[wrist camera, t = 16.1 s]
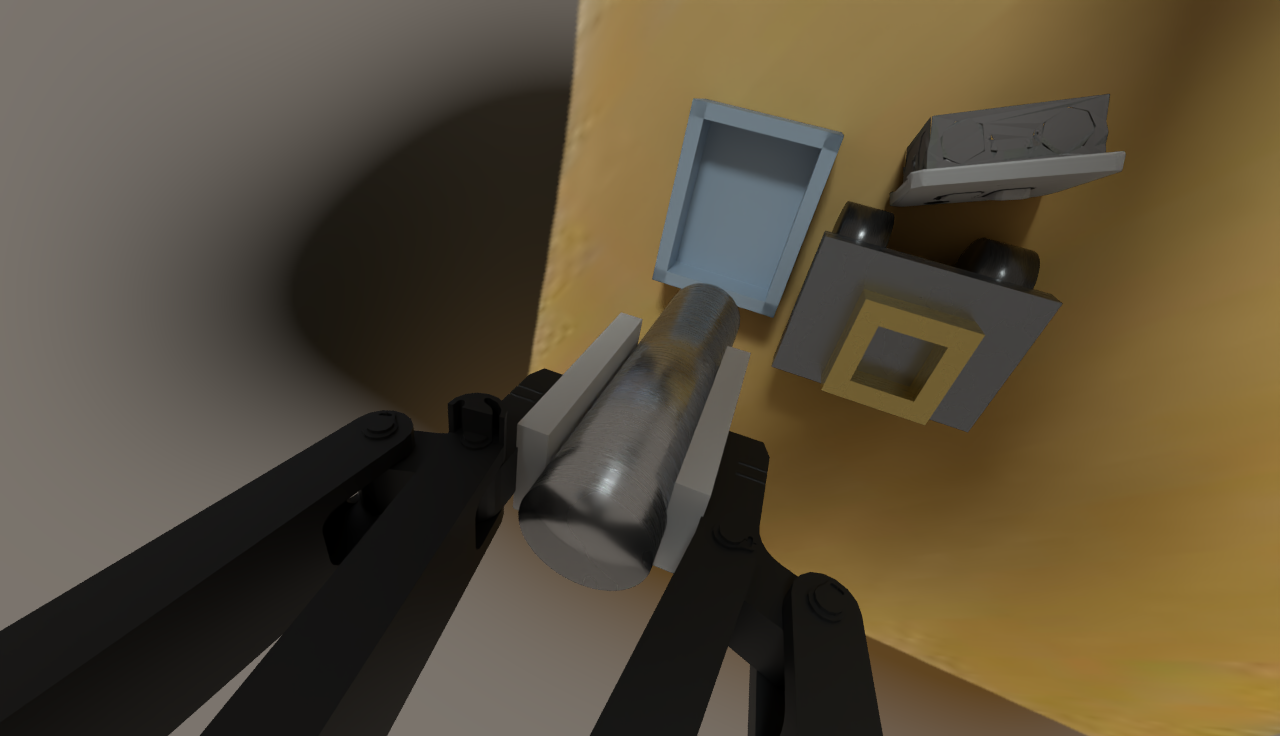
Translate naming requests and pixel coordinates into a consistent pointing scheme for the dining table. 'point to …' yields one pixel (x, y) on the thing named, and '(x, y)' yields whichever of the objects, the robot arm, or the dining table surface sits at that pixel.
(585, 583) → the pin
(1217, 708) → the dining table surface
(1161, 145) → the dining table surface
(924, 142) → the electrical switch
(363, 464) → the robot arm
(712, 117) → the tray
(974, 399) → the trolley
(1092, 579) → the dining table surface
